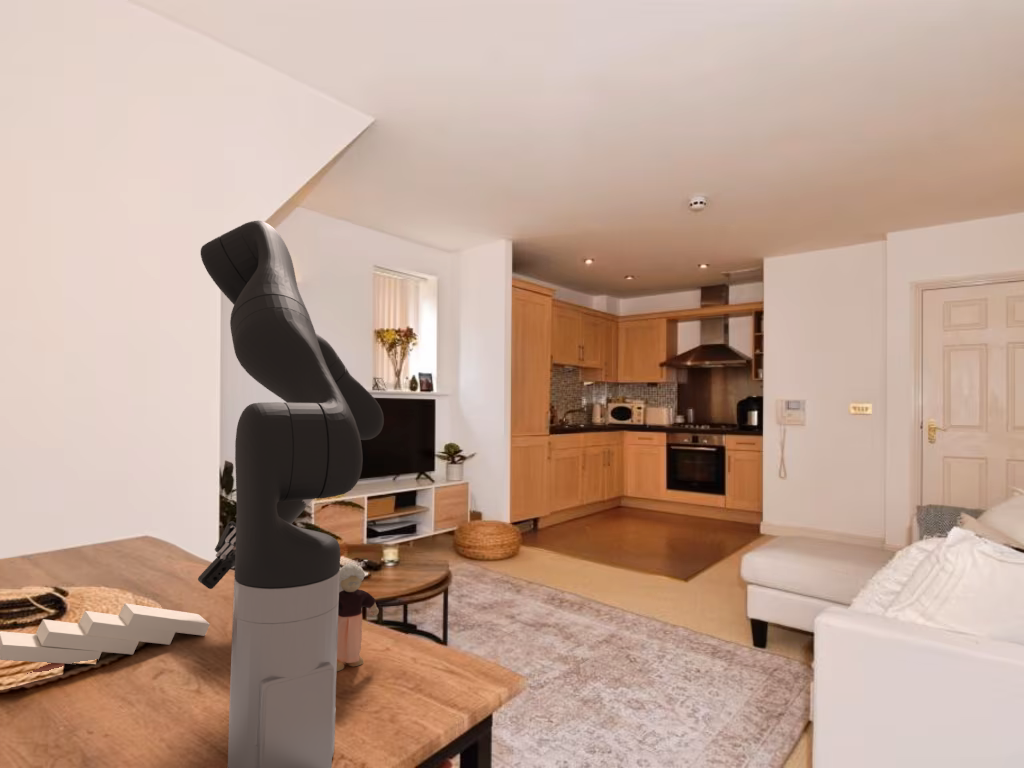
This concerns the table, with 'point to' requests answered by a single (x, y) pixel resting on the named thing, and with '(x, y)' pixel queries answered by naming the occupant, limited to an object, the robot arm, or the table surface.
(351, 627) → the grandmother figurine
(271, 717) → the robot arm
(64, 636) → the domino
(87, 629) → the domino
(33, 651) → the domino
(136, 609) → the domino
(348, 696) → the table surface
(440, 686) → the table surface
